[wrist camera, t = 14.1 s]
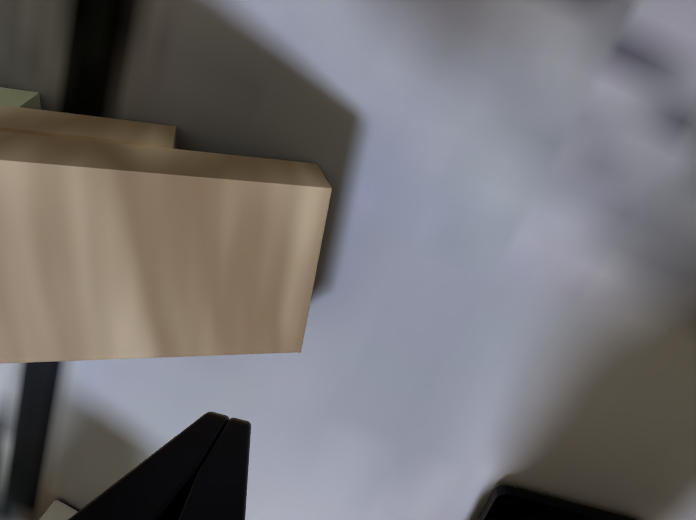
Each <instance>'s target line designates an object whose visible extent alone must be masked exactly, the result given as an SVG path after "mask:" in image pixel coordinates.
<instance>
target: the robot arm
mask: <svg viewBox="0 0 696 520" xmlns="http://www.w3.org/2000/svg"><path fill="white" fill-rule="evenodd" d="M250 434H251V424H250V422H248V421H245V420H241V419H237V418H231V419H229V417H228V416H226V415H222V414H219V413H215V412H208V413H206V414H204V415H203V416H202V417H200V418H199V419H198V420H197V421H195V422H194V423H193V424H191V425H190V426H189V427H187V428H186V429H185V430H184V431H182V432H181V433H180V434H178V435H177V436H176V437H174V438H173V439H172V440H171V441H169V442H168V443H167V444H165V445H164V446H163V447H161V448H160V449H159V450H158V451H156V452H155V453H154V454H152V455H151V456H150V457H148V458H147V459H146V460H145V461H143V462H142V463H141V464H139V465H138V466H137V467H135V468H134V469H133V470H132V471H130V472H129V473H128V474H126V475H125V476H124V477H122V478H121V479H120V480H119V481H117V482H116V483H115V484H113V485H112V486H111V487H109V488H108V489H107V490H106V491H104V492H103V493H102V494H100V495H99V496H98V497H96V498H95V499H94V500H93V501H91V502H90V503H89V504H87V505H86V506H85V507H83V508H82V509H81V510H80V511H78V512H77V513H76V514H74V515H73V516H72V517H70V518H69V519H68V520H245V511H246V496H247V480H248V465H249V449H250ZM477 520H635V519H631V518H628V517H624V516H620V515H616V514H613V513H609V512H605V511H601V510H598V509H594V508H590V507H586V506H583V505H579V504H575V503H571V502H568V501H564V500H560V499H556V498H553V497H549V496H545V495H541V494H538V493H534V492H530V491H526V490H523V489H519V488H515V487H512V486H506V485H505V486H499V487H497V488H496V489H495V490H494V491H493V493H492V495H491V497H490V499H489V501H488V502H487V504H486V506H485V508H484V510H483V511H482V513H481V515H480V517H479V519H477Z"/></svg>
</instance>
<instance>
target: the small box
mask: <svg viewBox="0 0 696 520" xmlns="http://www.w3.org/2000/svg"><path fill="white" fill-rule="evenodd" d="M77 512H78V511H76V510H75V509H73V508H71V507H69V506H68V505H66V504H64V503H62V502H61V501H59V500H54V501H53V502H52V504H51V505H50V506H49V508H48V509H47V510H46V511H45V513H44V514H43V515H42V516H41V518H40V519H39V520H68V519H69V518H70V517H72V516H73V515H74V514H76V513H77Z"/></svg>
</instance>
